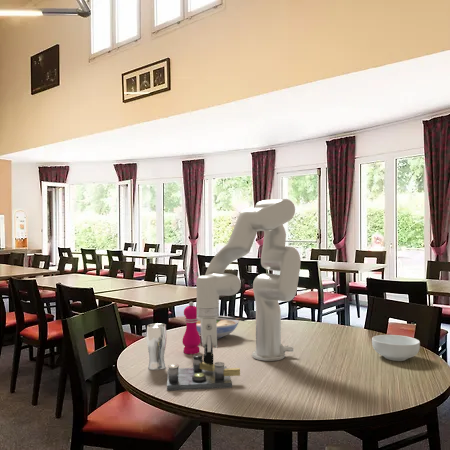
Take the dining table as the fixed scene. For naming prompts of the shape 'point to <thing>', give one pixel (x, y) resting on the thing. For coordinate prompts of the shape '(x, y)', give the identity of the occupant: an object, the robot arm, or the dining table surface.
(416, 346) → the cereal bowl
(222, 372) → the grey knob
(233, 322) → the ramen bowl
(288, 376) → the dining table surface
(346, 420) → the dining table surface
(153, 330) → the beer glass
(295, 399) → the dining table surface
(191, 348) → the pepper mill
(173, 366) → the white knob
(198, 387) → the base plate
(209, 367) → the tan lever handle
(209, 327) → the robot arm
